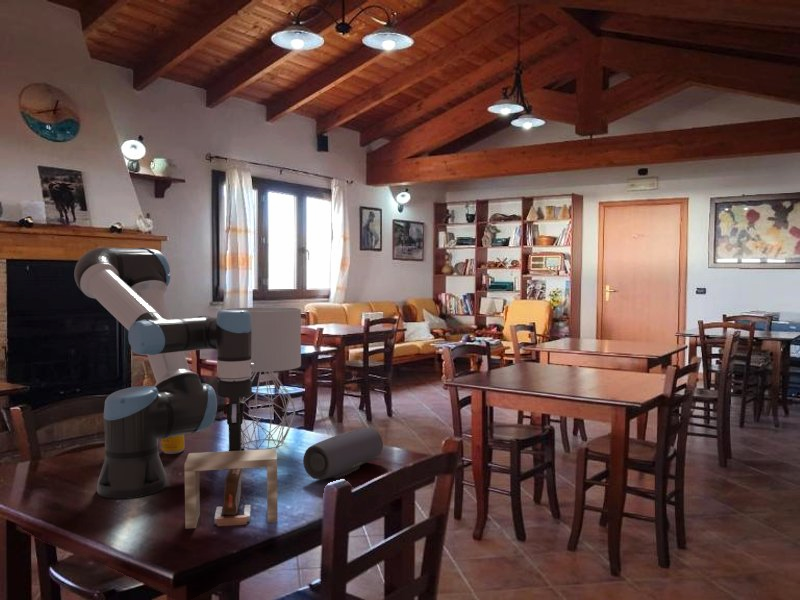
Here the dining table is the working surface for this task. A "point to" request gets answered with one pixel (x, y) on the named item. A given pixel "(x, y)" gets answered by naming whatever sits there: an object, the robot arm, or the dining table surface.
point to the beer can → (173, 444)
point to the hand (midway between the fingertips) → (235, 481)
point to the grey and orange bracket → (232, 517)
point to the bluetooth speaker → (342, 453)
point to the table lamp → (273, 355)
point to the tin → (232, 492)
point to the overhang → (228, 461)
